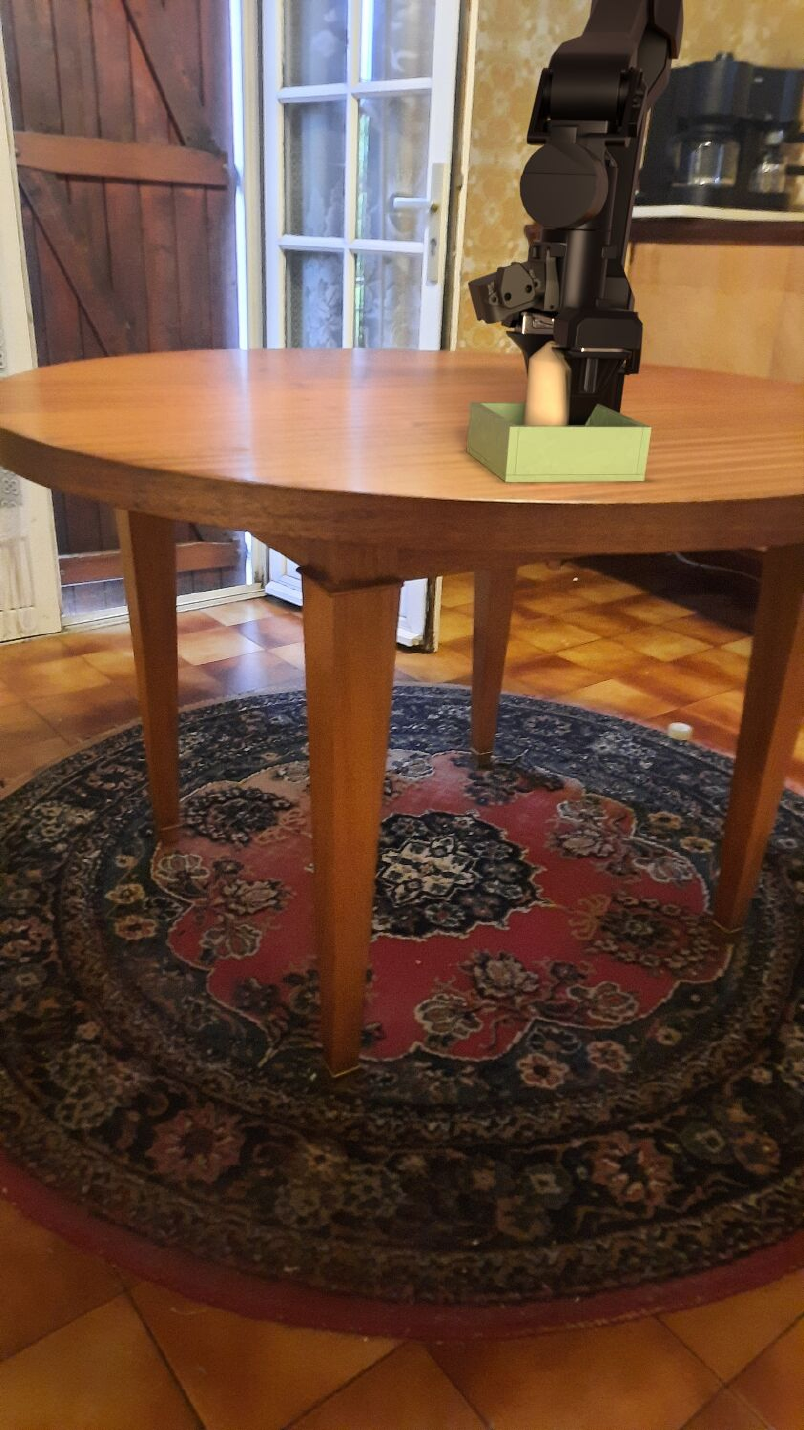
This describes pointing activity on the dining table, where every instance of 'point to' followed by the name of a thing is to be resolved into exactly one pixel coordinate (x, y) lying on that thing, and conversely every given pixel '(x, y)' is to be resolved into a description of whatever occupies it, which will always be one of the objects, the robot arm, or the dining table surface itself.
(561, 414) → the candle
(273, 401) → the dining table surface
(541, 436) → the green open tray
